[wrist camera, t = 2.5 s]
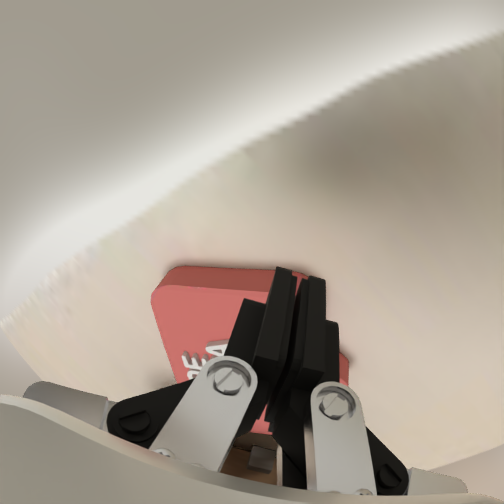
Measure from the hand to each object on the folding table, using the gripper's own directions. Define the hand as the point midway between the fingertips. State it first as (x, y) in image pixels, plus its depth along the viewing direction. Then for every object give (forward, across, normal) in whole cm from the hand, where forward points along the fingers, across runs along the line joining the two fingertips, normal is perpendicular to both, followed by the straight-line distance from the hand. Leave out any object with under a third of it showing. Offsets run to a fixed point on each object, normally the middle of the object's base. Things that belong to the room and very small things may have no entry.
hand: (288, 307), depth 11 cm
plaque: (+11, -1, +14) cm, 18 cm away
